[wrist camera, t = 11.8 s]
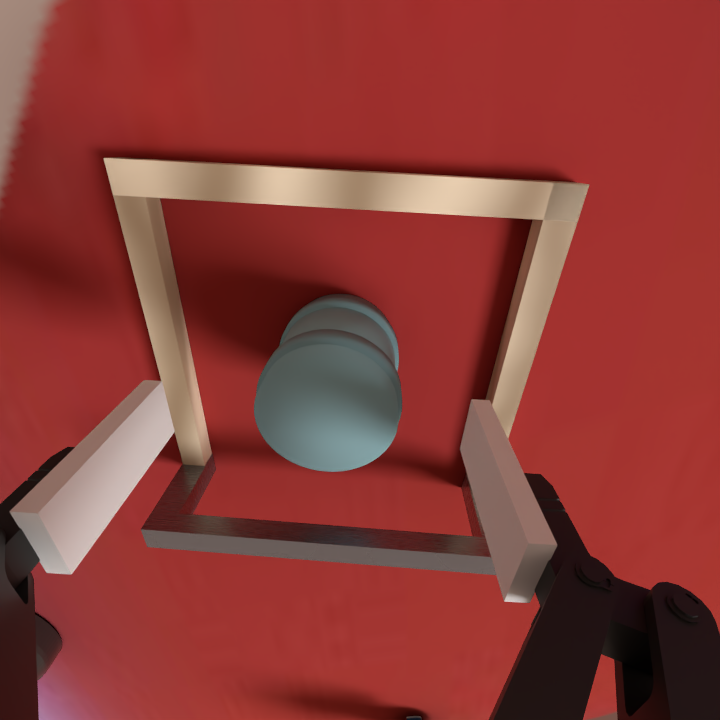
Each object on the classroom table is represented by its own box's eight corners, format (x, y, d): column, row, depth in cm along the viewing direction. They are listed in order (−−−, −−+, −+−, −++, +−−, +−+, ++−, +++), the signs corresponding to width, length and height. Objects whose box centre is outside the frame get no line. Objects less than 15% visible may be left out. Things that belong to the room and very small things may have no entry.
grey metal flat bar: (194, 468, 27) (147, 546, 22) (190, 451, 26) (140, 529, 21) (483, 489, 27) (509, 576, 21) (488, 473, 26) (516, 559, 20)
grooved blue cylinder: (290, 385, 23) (256, 469, 17) (283, 286, 20) (240, 346, 14) (392, 392, 23) (395, 479, 17) (402, 293, 20) (411, 357, 14)
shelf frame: (194, 468, 27) (187, 480, 26) (120, 157, 17) (103, 157, 16) (483, 489, 27) (487, 503, 26) (576, 182, 17) (589, 184, 16)
